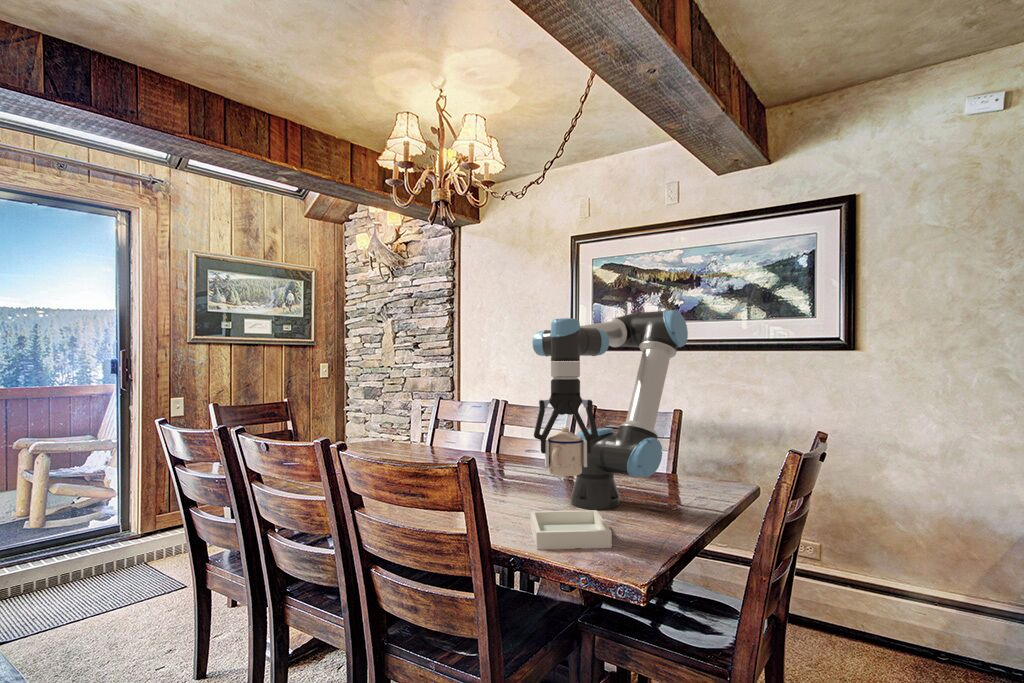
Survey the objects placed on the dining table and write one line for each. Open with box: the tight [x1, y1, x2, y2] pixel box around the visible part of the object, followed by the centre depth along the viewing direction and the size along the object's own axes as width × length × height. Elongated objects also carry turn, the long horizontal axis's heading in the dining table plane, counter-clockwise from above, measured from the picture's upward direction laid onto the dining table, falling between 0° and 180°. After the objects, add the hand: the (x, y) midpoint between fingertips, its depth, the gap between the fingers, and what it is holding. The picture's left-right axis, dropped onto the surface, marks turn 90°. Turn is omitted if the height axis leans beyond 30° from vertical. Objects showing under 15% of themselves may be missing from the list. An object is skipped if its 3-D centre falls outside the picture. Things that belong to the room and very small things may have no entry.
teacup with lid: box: [547, 427, 583, 477], centre depth 140 cm, size 12×9×12 cm
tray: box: [530, 509, 613, 550], centre depth 139 cm, size 18×18×4 cm
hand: (565, 466), depth 140 cm, fingers closed on teacup with lid, 9 cm apart
